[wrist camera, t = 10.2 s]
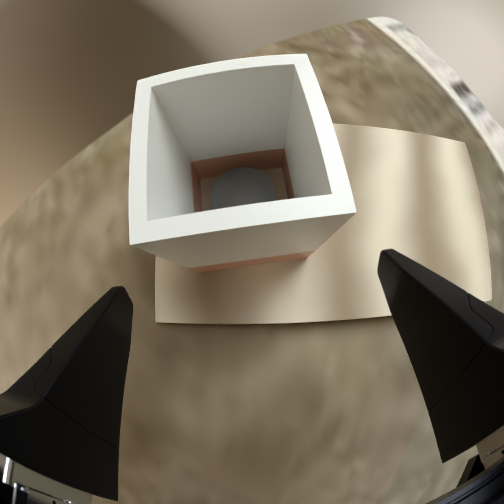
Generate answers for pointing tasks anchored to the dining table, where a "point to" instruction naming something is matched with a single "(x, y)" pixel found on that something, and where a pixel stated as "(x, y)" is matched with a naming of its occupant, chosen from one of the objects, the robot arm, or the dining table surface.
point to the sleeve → (234, 163)
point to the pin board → (345, 237)
